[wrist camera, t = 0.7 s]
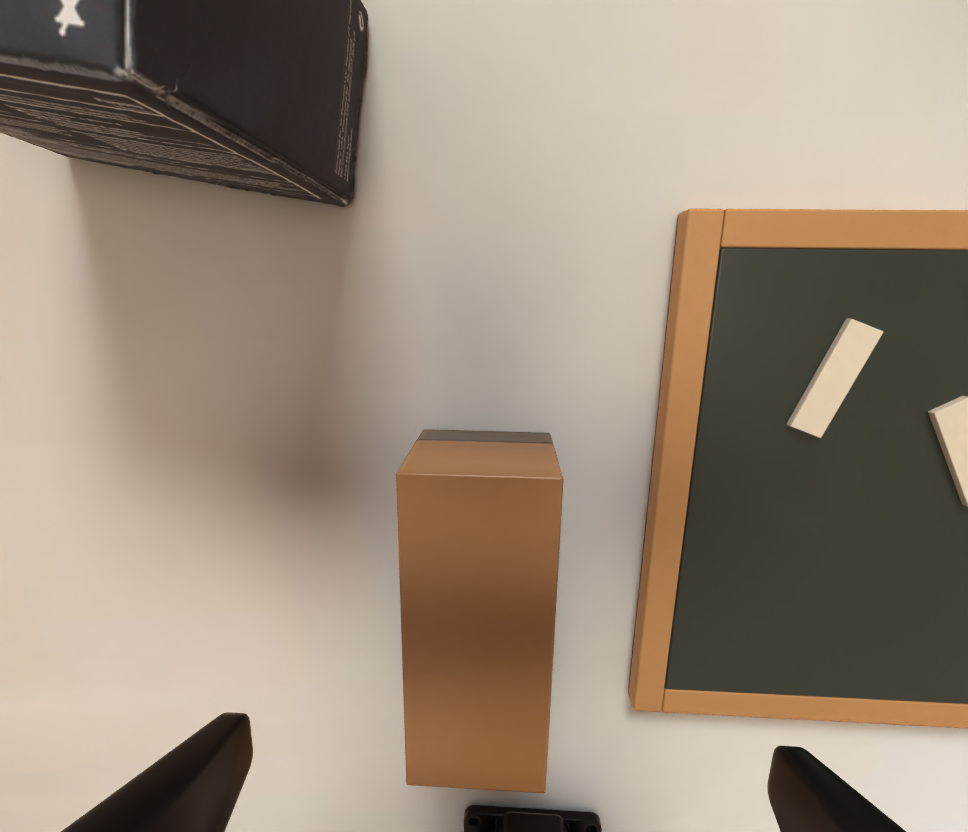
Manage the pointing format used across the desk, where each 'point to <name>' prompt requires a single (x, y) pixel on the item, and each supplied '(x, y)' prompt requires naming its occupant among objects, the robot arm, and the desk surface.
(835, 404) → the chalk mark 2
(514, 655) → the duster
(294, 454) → the desk surface
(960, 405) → the cream rectangular block
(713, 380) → the chalkboard
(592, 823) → the robot arm
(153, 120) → the small box
